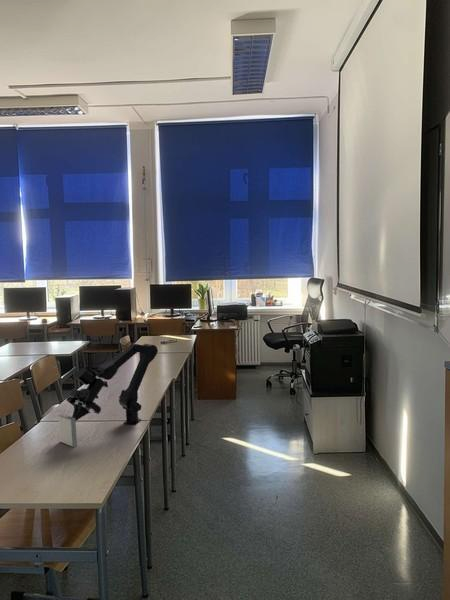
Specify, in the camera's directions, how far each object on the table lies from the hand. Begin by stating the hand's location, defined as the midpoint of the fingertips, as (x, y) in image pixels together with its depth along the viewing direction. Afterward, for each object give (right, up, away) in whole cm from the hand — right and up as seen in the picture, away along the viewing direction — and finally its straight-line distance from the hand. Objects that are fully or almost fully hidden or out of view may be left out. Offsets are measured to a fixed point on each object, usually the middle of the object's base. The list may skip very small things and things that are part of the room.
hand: (72, 421), depth 193 cm
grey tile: (-1, -9, -1) cm, 9 cm away
